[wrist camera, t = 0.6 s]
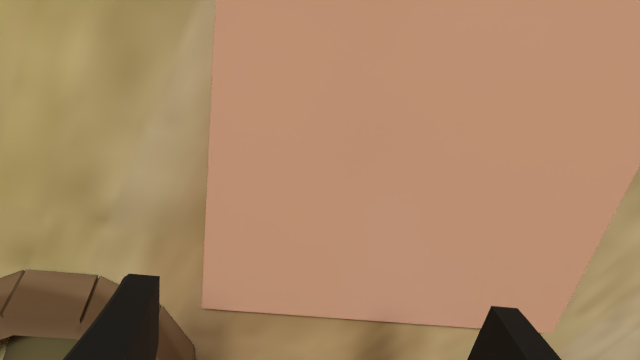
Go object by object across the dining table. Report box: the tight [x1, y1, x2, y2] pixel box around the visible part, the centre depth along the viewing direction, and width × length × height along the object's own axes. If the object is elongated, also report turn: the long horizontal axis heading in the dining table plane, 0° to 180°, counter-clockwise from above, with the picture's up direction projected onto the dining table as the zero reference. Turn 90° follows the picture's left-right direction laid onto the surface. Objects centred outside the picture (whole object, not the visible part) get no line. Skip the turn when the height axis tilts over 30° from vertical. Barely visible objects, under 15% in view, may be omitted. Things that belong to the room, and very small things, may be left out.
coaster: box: [202, 0, 640, 334], centre depth 23 cm, size 16×16×1 cm
